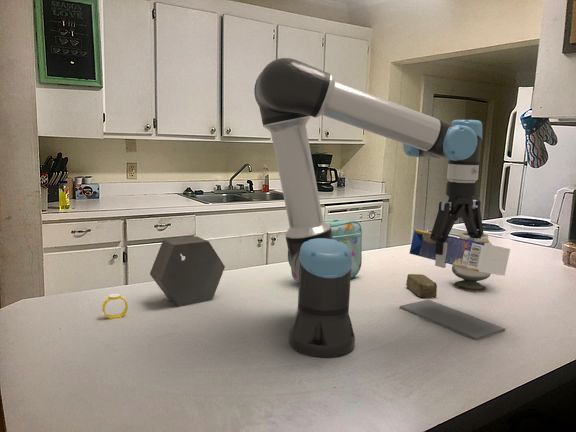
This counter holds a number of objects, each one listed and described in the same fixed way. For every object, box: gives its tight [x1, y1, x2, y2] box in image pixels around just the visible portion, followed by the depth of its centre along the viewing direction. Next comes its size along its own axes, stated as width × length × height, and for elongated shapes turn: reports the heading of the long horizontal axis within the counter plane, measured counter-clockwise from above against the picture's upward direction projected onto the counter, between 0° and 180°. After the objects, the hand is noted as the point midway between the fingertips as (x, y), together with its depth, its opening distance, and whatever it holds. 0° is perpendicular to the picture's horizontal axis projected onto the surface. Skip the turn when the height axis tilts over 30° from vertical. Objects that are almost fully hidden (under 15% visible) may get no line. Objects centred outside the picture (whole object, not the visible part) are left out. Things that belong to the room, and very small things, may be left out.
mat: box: [399, 298, 506, 341], centre depth 130 cm, size 12×25×1 cm, turn 33°
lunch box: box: [290, 218, 363, 283], centre depth 159 cm, size 27×10×21 cm, turn 131°
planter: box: [149, 235, 226, 307], centre depth 136 cm, size 17×8×21 cm
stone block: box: [405, 273, 438, 299], centre depth 151 cm, size 6×12×5 cm, turn 9°
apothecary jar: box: [451, 231, 493, 293], centre depth 158 cm, size 12×12×18 cm
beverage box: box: [408, 229, 511, 277], centre depth 126 cm, size 7×11×22 cm
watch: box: [102, 293, 129, 320], centre depth 122 cm, size 6×3×6 cm, turn 120°
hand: (455, 264), depth 127 cm, fingers closed on beverage box, 11 cm apart
